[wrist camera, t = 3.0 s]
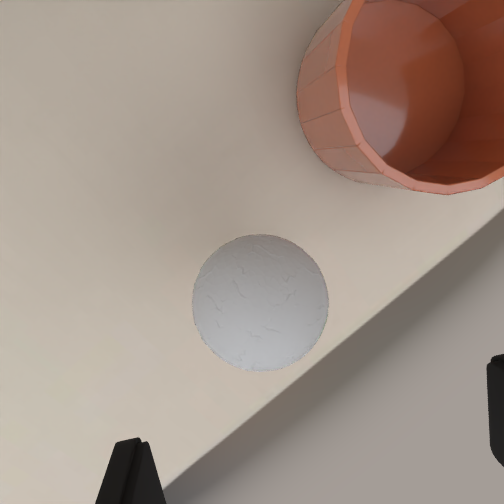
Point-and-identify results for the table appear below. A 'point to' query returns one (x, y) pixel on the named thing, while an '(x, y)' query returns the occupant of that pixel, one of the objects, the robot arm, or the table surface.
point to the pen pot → (408, 93)
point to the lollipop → (260, 303)
